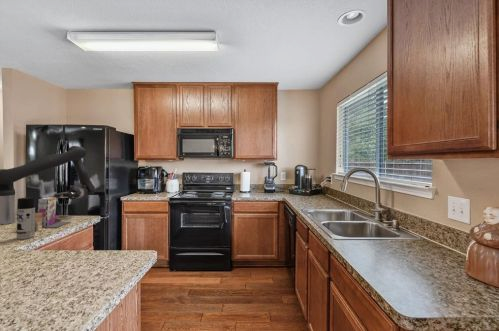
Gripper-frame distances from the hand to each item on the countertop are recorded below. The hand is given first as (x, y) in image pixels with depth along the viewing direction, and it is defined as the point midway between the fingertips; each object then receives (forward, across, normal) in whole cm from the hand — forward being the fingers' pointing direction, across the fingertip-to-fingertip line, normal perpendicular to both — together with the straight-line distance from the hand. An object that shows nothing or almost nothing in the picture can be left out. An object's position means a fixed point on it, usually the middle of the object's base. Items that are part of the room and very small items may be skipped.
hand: (61, 196), depth 161 cm
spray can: (+39, +6, +15) cm, 42 cm away
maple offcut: (+23, -1, +15) cm, 28 cm away
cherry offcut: (+23, -1, +11) cm, 25 cm away
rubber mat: (+14, +6, +15) cm, 22 cm away
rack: (+17, -2, +15) cm, 23 cm away
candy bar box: (+13, 0, +16) cm, 20 cm away
